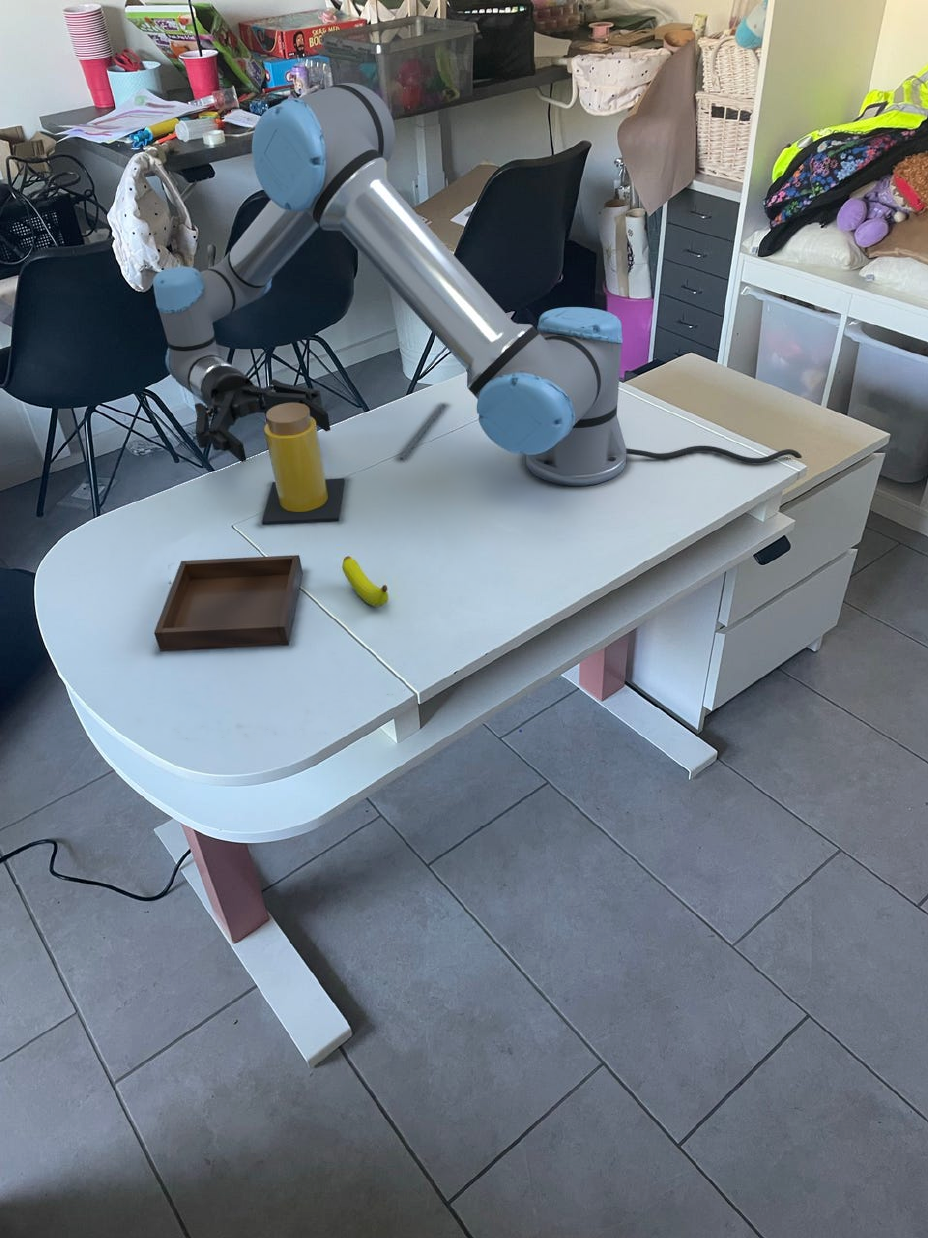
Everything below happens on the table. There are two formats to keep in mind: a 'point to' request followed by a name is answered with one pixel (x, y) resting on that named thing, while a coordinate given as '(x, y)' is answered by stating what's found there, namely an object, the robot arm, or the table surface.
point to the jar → (296, 457)
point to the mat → (321, 514)
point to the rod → (422, 432)
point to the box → (231, 603)
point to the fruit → (364, 584)
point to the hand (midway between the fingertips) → (285, 437)
